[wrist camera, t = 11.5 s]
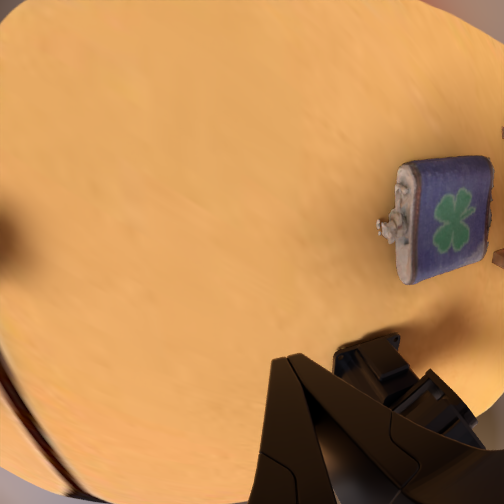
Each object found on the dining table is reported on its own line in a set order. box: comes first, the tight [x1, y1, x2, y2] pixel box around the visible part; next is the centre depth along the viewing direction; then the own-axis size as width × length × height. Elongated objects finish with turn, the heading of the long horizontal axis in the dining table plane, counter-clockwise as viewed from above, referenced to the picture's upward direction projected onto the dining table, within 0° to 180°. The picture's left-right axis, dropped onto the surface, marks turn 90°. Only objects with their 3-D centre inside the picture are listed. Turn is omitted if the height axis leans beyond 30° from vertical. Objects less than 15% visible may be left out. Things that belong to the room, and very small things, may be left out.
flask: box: [376, 156, 494, 285], centre depth 20 cm, size 9×3×11 cm
